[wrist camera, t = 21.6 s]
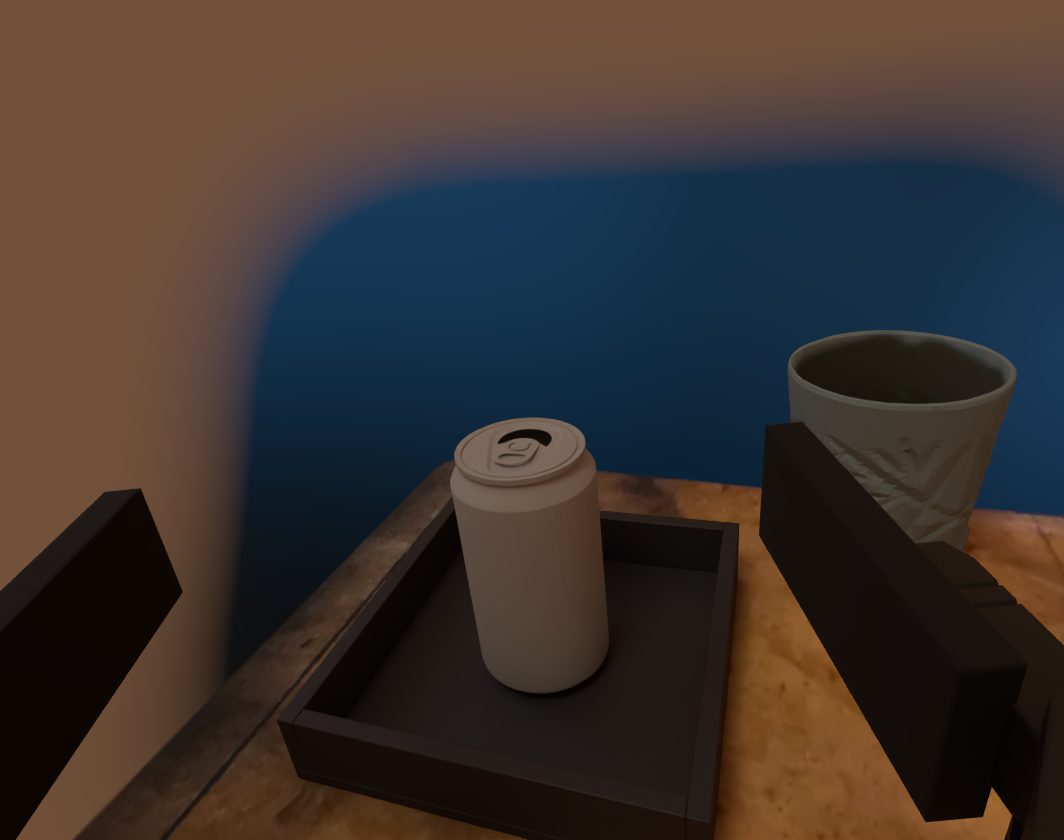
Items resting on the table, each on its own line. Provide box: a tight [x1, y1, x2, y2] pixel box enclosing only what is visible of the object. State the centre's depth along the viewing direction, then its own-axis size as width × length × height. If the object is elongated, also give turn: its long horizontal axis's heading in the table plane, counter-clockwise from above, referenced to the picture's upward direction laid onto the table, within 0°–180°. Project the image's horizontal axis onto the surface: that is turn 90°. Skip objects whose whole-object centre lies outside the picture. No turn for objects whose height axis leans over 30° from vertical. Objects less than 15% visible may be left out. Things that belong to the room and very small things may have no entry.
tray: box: [277, 497, 739, 840], centre depth 33 cm, size 18×18×4 cm
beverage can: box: [450, 418, 609, 694], centre depth 31 cm, size 6×6×12 cm
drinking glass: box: [788, 330, 1016, 552], centre depth 36 cm, size 10×10×12 cm
